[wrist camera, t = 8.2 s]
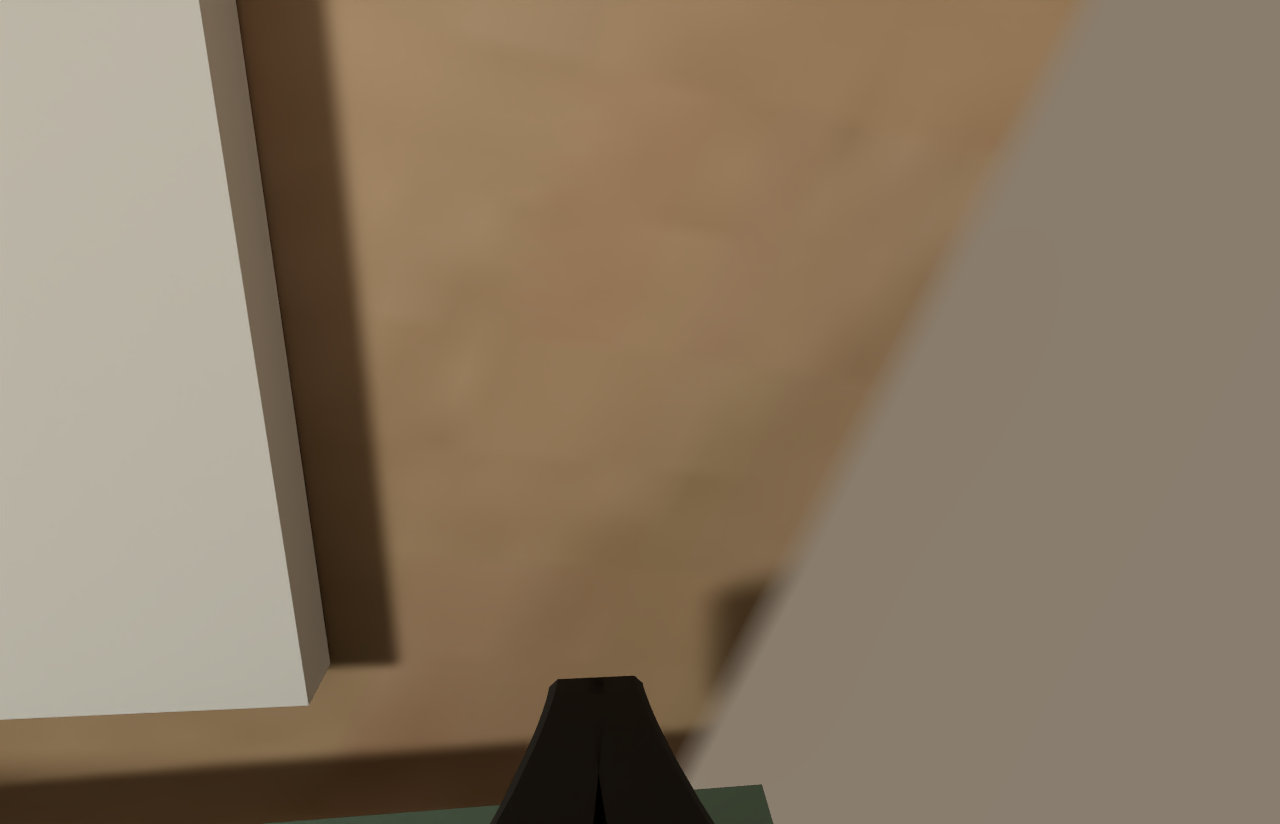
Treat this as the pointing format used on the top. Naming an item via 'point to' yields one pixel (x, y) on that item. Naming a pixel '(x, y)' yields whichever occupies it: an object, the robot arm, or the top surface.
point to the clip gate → (730, 808)
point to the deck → (143, 376)
